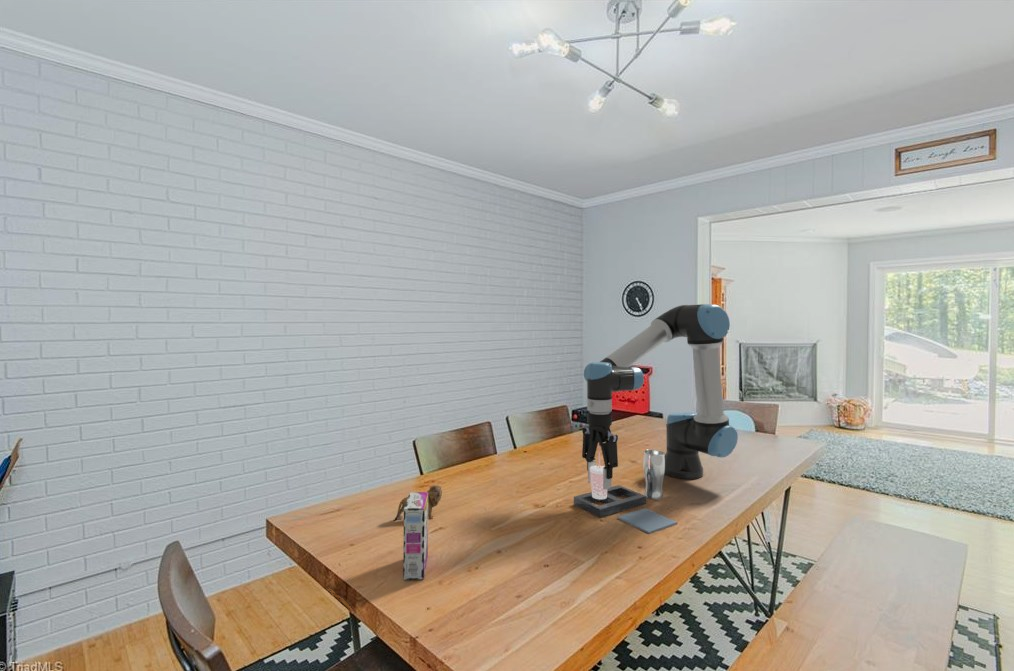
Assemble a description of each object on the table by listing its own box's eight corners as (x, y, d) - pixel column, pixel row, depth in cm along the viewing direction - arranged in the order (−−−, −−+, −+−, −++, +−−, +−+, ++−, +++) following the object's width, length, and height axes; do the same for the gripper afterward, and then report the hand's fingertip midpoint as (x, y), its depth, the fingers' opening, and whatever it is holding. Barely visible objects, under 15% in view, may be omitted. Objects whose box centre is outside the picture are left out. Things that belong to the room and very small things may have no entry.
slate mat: (645, 509, 148) (645, 508, 148) (677, 523, 137) (677, 522, 137) (617, 518, 141) (617, 516, 141) (648, 533, 131) (649, 531, 131)
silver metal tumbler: (665, 501, 154) (666, 455, 154) (643, 499, 156) (644, 454, 155) (663, 493, 161) (663, 449, 161) (642, 492, 163) (642, 448, 162)
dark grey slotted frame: (618, 492, 162) (618, 485, 162) (646, 503, 152) (646, 496, 152) (573, 504, 152) (573, 496, 152) (600, 517, 142) (600, 509, 141)
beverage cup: (605, 501, 145) (605, 456, 145) (586, 498, 148) (586, 453, 148) (612, 495, 150) (612, 451, 150) (593, 491, 154) (593, 448, 153)
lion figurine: (438, 510, 147) (438, 481, 146) (444, 516, 142) (444, 487, 142) (391, 519, 140) (391, 489, 140) (395, 526, 135) (395, 495, 135)
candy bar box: (425, 580, 107) (424, 508, 107) (402, 581, 107) (402, 509, 106) (429, 555, 119) (428, 491, 118) (408, 556, 118) (408, 491, 118)
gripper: (570, 408, 154) (570, 478, 155) (612, 418, 138) (612, 497, 139) (587, 406, 158) (587, 474, 159) (631, 415, 142) (630, 492, 143)
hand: (599, 484), depth 149 cm, fingers closed on beverage cup, 6 cm apart
